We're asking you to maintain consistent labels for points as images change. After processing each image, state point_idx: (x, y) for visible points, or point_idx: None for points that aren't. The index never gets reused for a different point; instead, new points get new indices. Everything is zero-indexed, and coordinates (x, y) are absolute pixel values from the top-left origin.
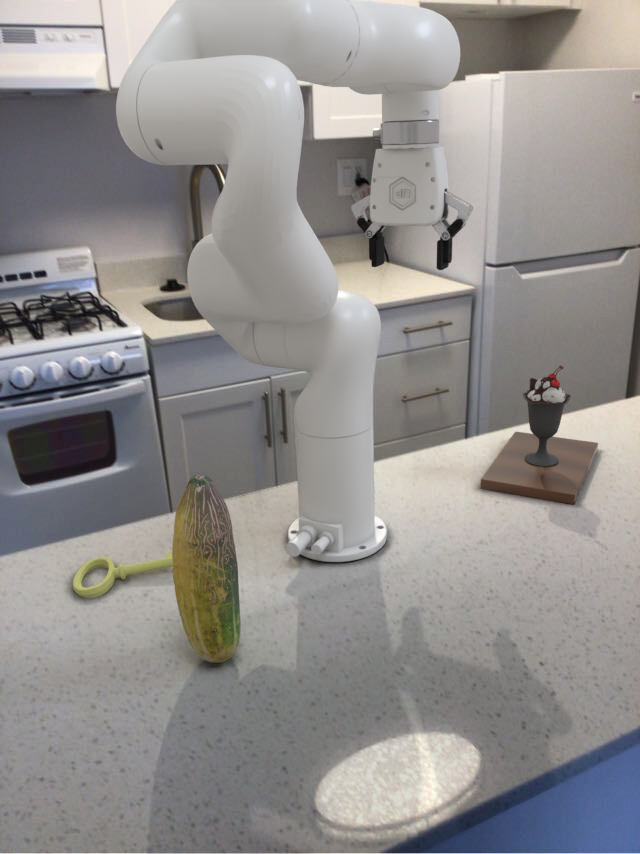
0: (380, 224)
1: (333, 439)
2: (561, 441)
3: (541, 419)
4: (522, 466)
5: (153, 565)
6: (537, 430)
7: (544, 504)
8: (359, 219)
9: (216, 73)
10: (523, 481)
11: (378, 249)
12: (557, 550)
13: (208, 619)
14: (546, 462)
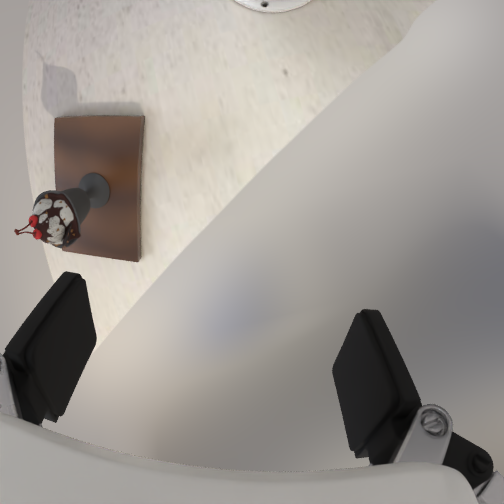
0: (401, 464)
1: None
2: (89, 245)
3: (65, 190)
4: (106, 166)
5: None
6: (77, 188)
7: (82, 105)
8: (488, 472)
9: None
10: (98, 127)
11: (368, 378)
12: (68, 28)
13: None
14: (85, 179)
